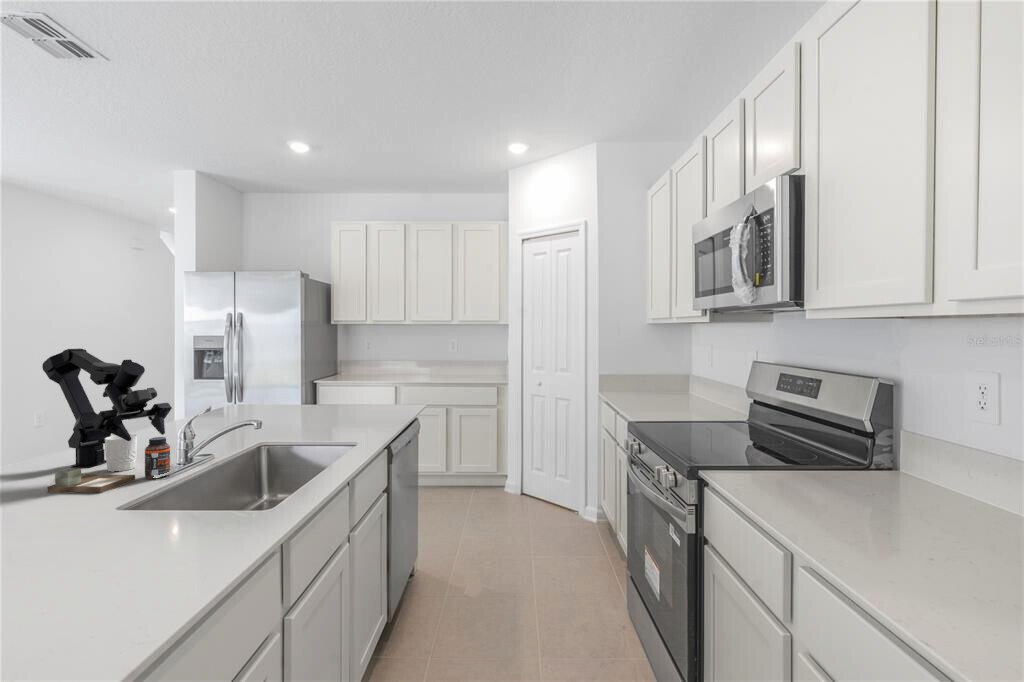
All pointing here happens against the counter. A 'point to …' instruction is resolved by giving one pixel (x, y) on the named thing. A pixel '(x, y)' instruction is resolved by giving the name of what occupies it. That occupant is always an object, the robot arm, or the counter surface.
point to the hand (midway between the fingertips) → (147, 436)
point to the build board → (86, 481)
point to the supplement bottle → (157, 457)
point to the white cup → (121, 453)
